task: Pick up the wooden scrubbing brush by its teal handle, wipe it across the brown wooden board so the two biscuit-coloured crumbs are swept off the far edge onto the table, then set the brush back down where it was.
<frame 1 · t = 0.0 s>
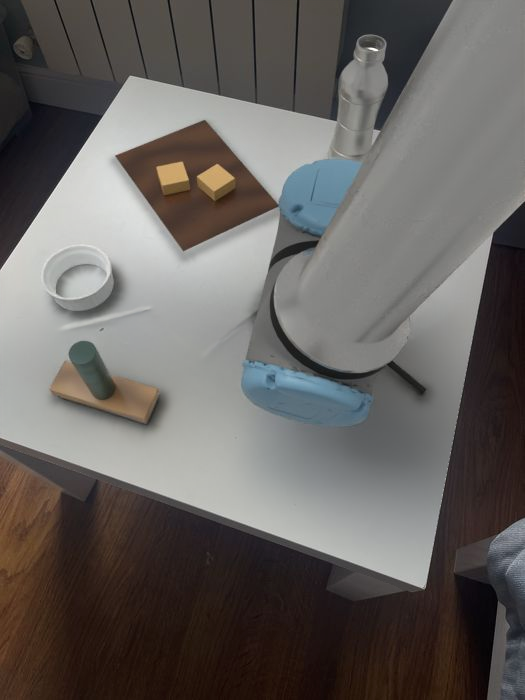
ramekin: (85, 291, 72), on the table
plastic bottle: (346, 169, 84), on the table
crumb a: (216, 187, 80), point 1 cm above the table, touching brown wooden board
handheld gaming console: (384, 224, 79), on the table
brush: (108, 397, 65), on the table
brown wooden board: (195, 185, 82), on the table
crumb b: (174, 183, 80), point 1 cm above the table, touching brown wooden board
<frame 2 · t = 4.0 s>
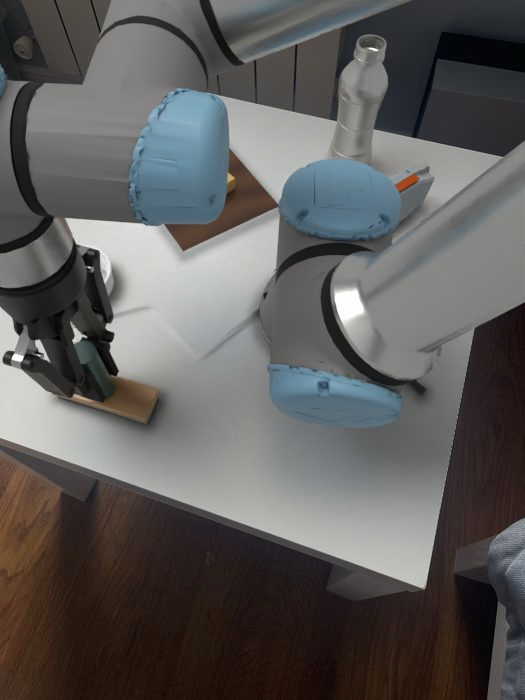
hand: (100, 383, 61), 4 cm above the table, tool pointing down, fingers closed on brush, 3 cm apart
brush: (108, 397, 65), on the table, touching gripper
everything else where it was.
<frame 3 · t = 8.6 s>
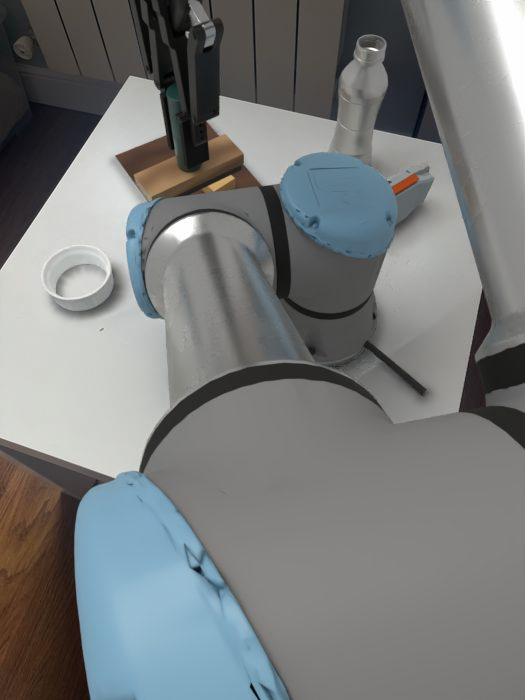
hand: (188, 152, 59), 19 cm above the table, tool pointing down, fingers closed on brush, 3 cm apart
brush: (191, 180, 62), point 15 cm above the table, touching gripper
everything else where it was.
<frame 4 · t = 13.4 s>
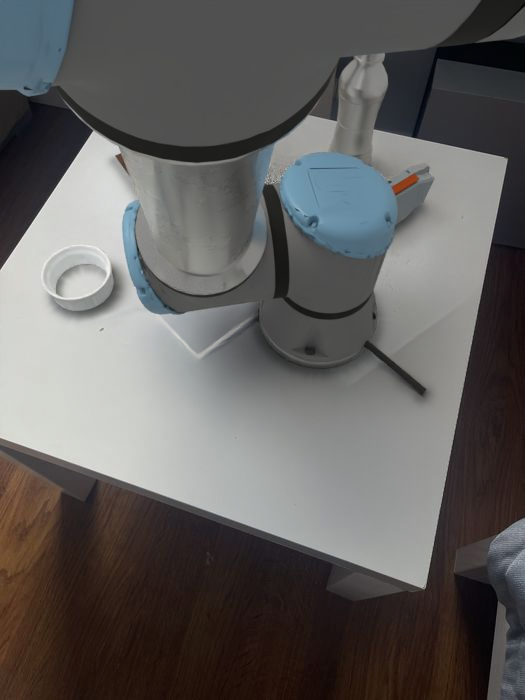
hand: (186, 147, 77), 6 cm above the table, tool pointing down, fingers closed on brush, 3 cm apart
crumb a: (191, 150, 84), point 1 cm above the table, touching brush
brush: (188, 166, 81), point 2 cm above the table, touching crumb a, crumb b, gripper
crumb b: (155, 165, 82), point 1 cm above the table, touching brush
everything else where it was.
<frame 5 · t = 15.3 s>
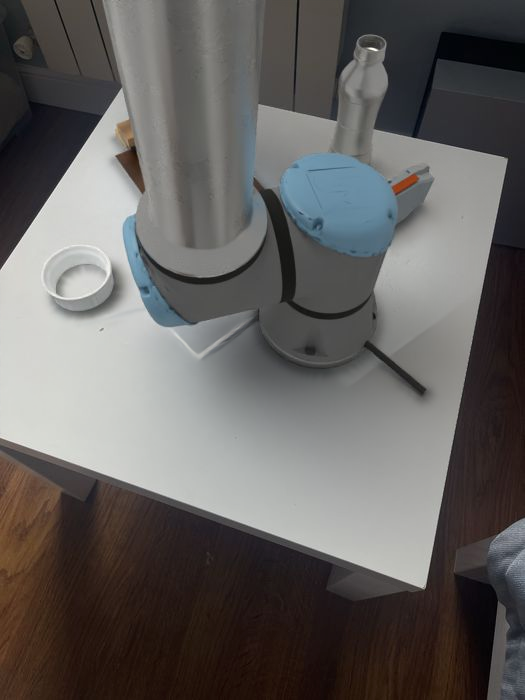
hand: (157, 112, 81), 6 cm above the table, tool pointing down, fingers closed on brush, 3 cm apart
crumb a: (169, 127, 88), on the table
brush: (160, 131, 84), point 2 cm above the table, touching gripper
crumb b: (134, 142, 86), on the table
everything else where it was.
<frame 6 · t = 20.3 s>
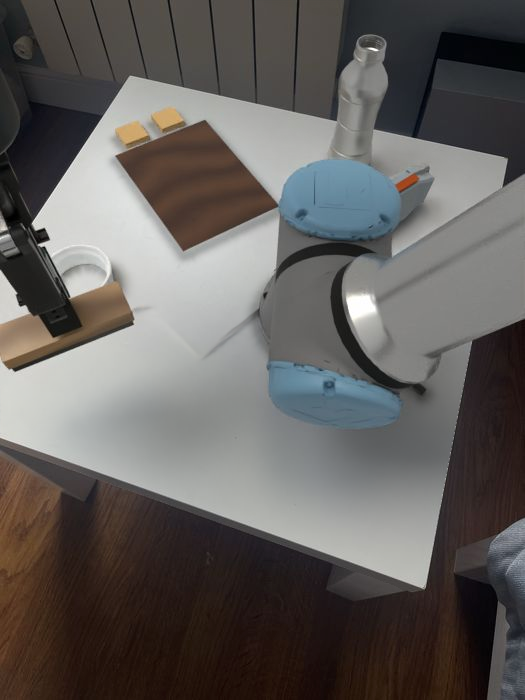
hand: (60, 313, 48), 19 cm above the table, tool pointing down, fingers closed on brush, 3 cm apart
brush: (70, 333, 51), point 15 cm above the table, touching gripper
everything else where it was.
when the fingers open (3 cm above the table, at t = 24.3 s): brush stays where it is, on the table.
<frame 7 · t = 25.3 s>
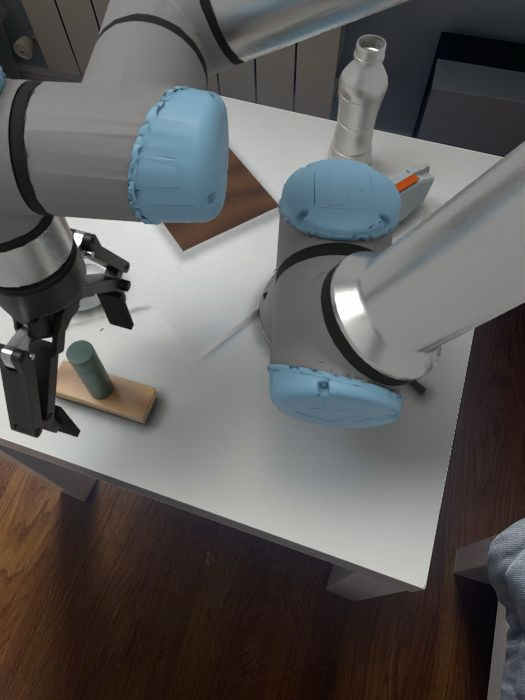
hand: (96, 374, 59), 6 cm above the table, tool pointing down, fingers open, 13 cm apart
brush: (106, 397, 65), on the table
everything else where it was.
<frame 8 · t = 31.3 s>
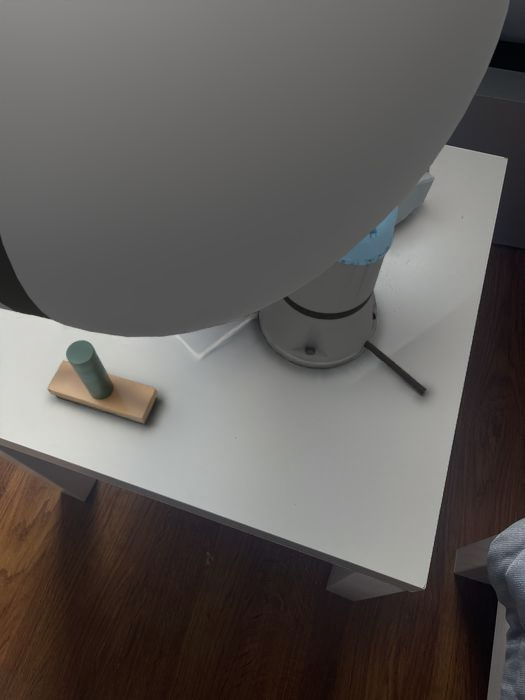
nothing on the table moved.
at the end: crumb a inside the target area on the table beside the brown wooden board (3.9 cm from its centre), on the table; crumb b inside the target area on the table beside the brown wooden board (4.8 cm from its centre), on the table; the gripper is holding nothing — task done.
